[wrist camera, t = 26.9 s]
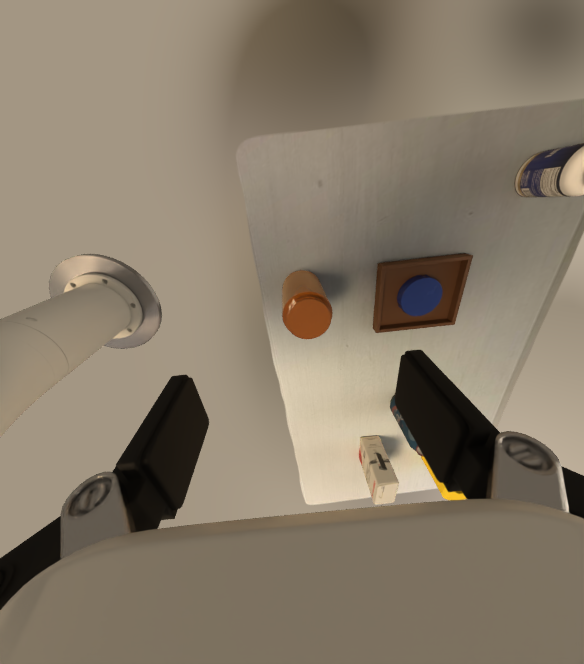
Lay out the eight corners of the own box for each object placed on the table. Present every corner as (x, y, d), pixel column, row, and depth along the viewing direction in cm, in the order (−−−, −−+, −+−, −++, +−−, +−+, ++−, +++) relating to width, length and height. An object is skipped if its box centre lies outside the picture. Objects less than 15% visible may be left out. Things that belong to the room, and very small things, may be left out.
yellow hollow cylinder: (438, 437, 61) (462, 474, 53) (466, 446, 63) (494, 482, 55) (414, 459, 65) (433, 496, 57) (441, 466, 67) (463, 503, 59)
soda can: (384, 395, 53) (409, 443, 42) (414, 384, 51) (448, 430, 41) (392, 414, 56) (418, 463, 45) (421, 403, 55) (454, 451, 44)
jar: (285, 310, 42) (287, 345, 31) (279, 273, 38) (278, 300, 28) (322, 304, 41) (336, 338, 31) (318, 267, 38) (332, 291, 28)
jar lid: (439, 303, 42) (444, 306, 40) (401, 318, 43) (405, 322, 41) (433, 268, 38) (440, 270, 37) (392, 285, 40) (397, 288, 38)
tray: (372, 328, 44) (376, 333, 42) (377, 263, 38) (382, 265, 36) (448, 320, 44) (454, 324, 42) (464, 253, 38) (473, 255, 36)
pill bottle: (557, 143, 31) (660, 121, 23) (552, 187, 34) (643, 181, 25) (513, 162, 32) (597, 148, 24) (512, 203, 35) (587, 204, 26)
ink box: (376, 455, 64) (395, 504, 53) (358, 456, 64) (373, 506, 53) (379, 434, 59) (400, 483, 49) (360, 436, 60) (376, 485, 49)
